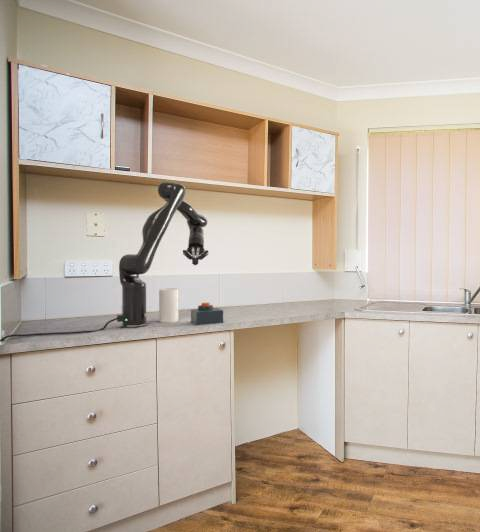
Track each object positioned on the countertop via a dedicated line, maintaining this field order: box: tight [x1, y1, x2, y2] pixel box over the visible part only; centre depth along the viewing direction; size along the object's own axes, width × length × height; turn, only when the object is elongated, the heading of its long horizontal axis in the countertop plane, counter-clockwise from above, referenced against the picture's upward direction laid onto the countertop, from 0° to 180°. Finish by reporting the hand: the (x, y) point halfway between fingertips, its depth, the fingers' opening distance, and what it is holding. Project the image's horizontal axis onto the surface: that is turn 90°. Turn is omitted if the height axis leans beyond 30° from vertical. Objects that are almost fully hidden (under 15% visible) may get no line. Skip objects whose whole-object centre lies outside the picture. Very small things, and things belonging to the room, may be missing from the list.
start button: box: [200, 302, 211, 306], centre depth 195 cm, size 4×4×2 cm
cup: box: [158, 288, 179, 323], centre depth 195 cm, size 8×8×16 cm
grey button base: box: [190, 304, 224, 326], centre depth 194 cm, size 12×12×8 cm
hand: (195, 264), depth 207 cm, fingers closed
